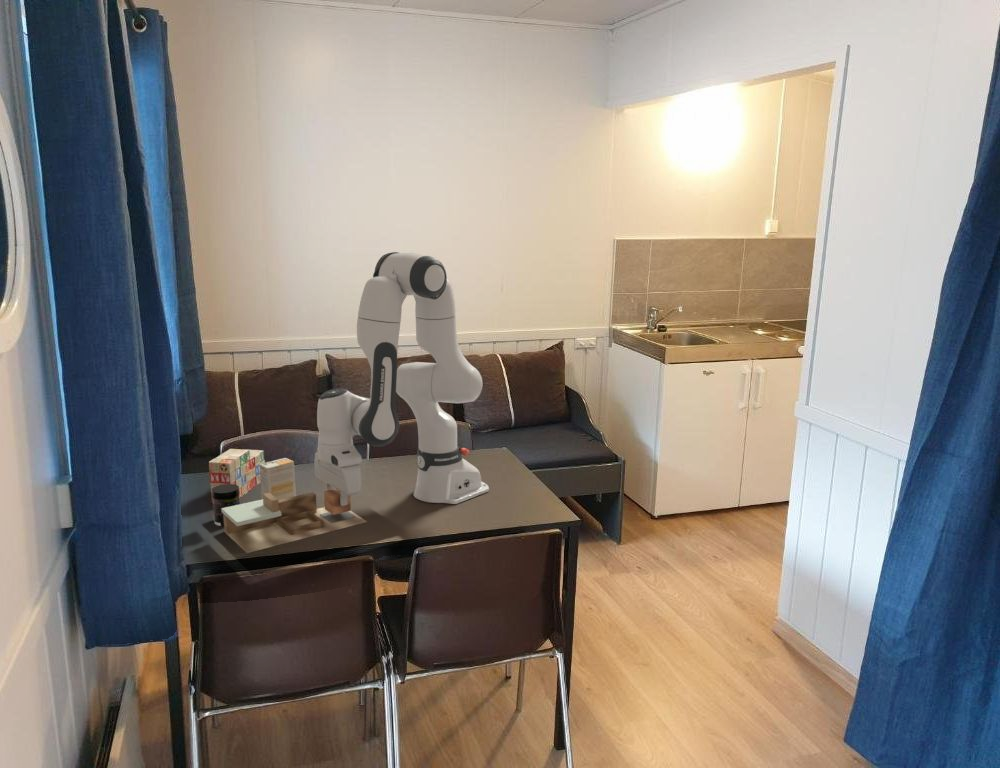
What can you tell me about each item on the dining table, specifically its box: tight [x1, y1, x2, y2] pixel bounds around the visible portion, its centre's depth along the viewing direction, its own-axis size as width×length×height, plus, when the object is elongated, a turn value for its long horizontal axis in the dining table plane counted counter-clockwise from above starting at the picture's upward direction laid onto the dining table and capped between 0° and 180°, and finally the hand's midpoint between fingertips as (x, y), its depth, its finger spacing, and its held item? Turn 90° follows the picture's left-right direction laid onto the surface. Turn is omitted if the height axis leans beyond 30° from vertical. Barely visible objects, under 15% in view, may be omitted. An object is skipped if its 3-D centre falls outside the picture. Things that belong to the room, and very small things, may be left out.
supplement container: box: [211, 484, 241, 527], centre depth 202 cm, size 7×7×10 cm
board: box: [223, 491, 368, 554], centre depth 200 cm, size 32×16×7 cm, turn 128°
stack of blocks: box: [208, 448, 266, 503], centre depth 228 cm, size 21×6×12 cm, turn 171°
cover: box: [221, 493, 281, 526], centre depth 193 cm, size 11×11×4 cm
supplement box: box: [259, 457, 297, 500], centre depth 215 cm, size 8×5×13 cm, turn 134°
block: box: [323, 488, 352, 515], centre depth 206 cm, size 5×5×5 cm
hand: (337, 501), depth 206 cm, fingers closed on block, 5 cm apart
